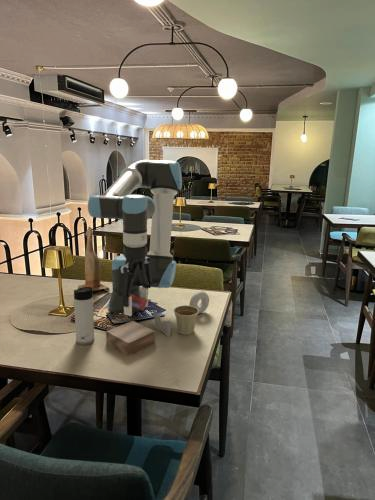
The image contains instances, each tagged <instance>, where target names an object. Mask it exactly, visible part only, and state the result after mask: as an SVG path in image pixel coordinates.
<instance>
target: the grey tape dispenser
mask: <svg viewBox="0 0 375 500" xmlns="http://www.w3.org/2000/svg"><path fill="white" fill-rule="evenodd" d="M153 321H154V322H153V326H154V328H156V329H157V330H158V331H160V332H163V333H164V334H165V336H167V337H169V336H171V329H172V328H171V325H172V322H171V321H170V320H161V314H160V313H155V314H154V320H153Z"/></svg>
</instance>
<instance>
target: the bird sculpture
mask: <svg viewBox="0 0 375 500" xmlns="http://www.w3.org/2000/svg"><path fill="white" fill-rule="evenodd" d="M93 236H94V233H93V228H92V227H91V226H88V227H87V229H86V231H85V237H87V241H86V249H85V256H84V257H85V258H84V278H85V282H84V284H80V285H78V287H77V289H80V288H82V287H91V288H92V292H96V291H100V290H102V289H104V290H107V291H110V287H108V286H105V285H104V284H101V267H100V259H99V256H98V255H97V253H96V252H95V250H94V242H93V240H94V237H93Z"/></svg>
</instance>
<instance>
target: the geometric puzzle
mask: <svg viewBox="0 0 375 500" xmlns="http://www.w3.org/2000/svg"><path fill="white" fill-rule="evenodd" d="M137 292H138V291H137ZM139 292H141V291H139ZM131 293H132V292H131ZM131 293H130V297H132V308H133V307H134V308H135V309H136V308H137V309H138V310H139V309H140V310H141V312H144V310H145V308H146V307H145V305H146V303H147V301H148V302H149V299H148V300H146V299H144V298H140V297H138V295H137V296H135V295H134V294H131ZM141 293H142V292H141ZM139 294H140V293H139ZM132 311H133V310H132ZM136 311H137V310H136ZM132 314H136V313H135V311H134V313H133V312H132Z"/></svg>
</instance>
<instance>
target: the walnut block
mask: <svg viewBox="0 0 375 500" xmlns="http://www.w3.org/2000/svg"><path fill="white" fill-rule="evenodd" d="M155 333H156V331H155V330H153V329H151V328H149V327H147V326H145V325H143V324H141V323H138V321H137V322H136V321H134V320H131V321H128V322H126V323H124V324H121V325H118V326H116V327H113V328H110V329H108V330H106V332H105V335H106V341H105V343H106V344H107V345H108V346H111V347H112V348H114V349H115V350H117V351H119V352H121V353H122V354H124V355H126V356H127V357H130V356H131V355H133V354H134V355H135V354H136V353H138V352H139V351H142V350H143V349H146V348H148V347H150V346H152V345H154V344H156V342H155V341H156V334H155Z"/></svg>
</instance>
